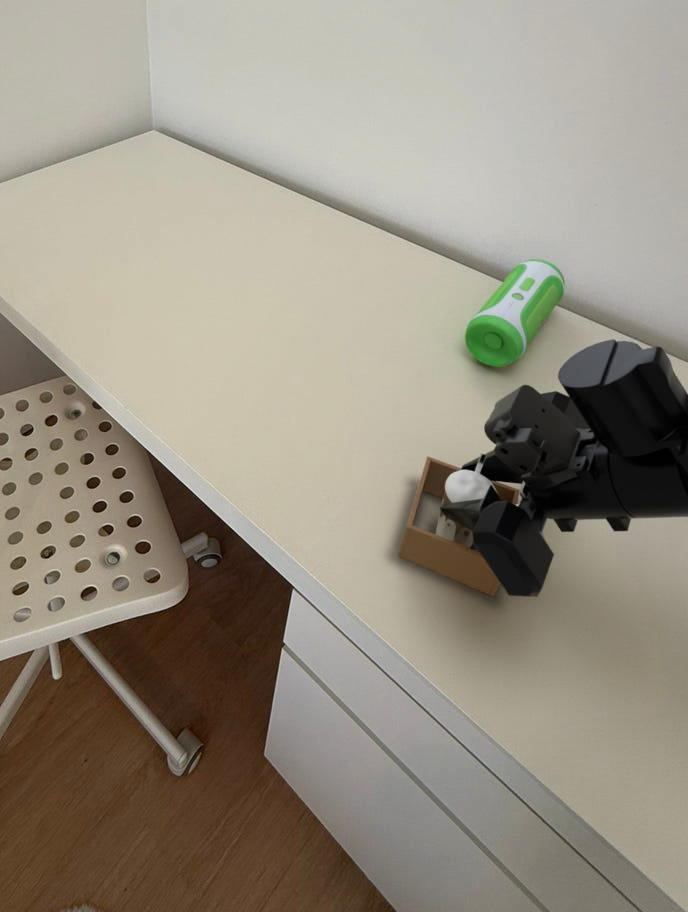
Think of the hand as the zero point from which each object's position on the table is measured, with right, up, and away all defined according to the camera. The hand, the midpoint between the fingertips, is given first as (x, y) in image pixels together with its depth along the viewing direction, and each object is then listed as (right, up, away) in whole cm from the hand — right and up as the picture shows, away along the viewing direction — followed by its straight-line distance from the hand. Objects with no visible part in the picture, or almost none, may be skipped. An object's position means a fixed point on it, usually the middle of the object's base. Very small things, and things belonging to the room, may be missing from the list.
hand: (453, 490), depth 63 cm
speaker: (+17, +12, +27) cm, 35 cm away
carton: (+1, -6, +3) cm, 7 cm away
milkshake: (+1, -6, +3) cm, 7 cm away
